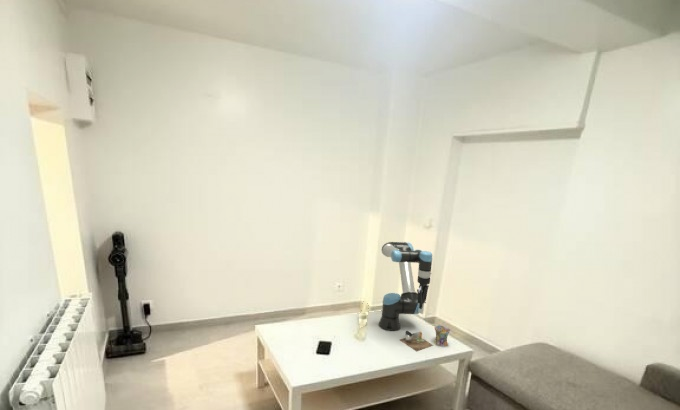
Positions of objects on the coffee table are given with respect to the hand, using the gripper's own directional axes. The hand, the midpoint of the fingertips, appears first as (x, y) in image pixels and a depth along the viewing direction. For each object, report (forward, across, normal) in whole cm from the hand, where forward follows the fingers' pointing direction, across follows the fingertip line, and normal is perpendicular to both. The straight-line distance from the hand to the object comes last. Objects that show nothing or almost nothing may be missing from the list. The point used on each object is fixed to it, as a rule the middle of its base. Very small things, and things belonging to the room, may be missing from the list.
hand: (420, 312), depth 199 cm
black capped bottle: (+19, 0, +3) cm, 19 cm away
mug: (+21, +10, -10) cm, 25 cm away
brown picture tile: (+20, -2, +1) cm, 20 cm away
